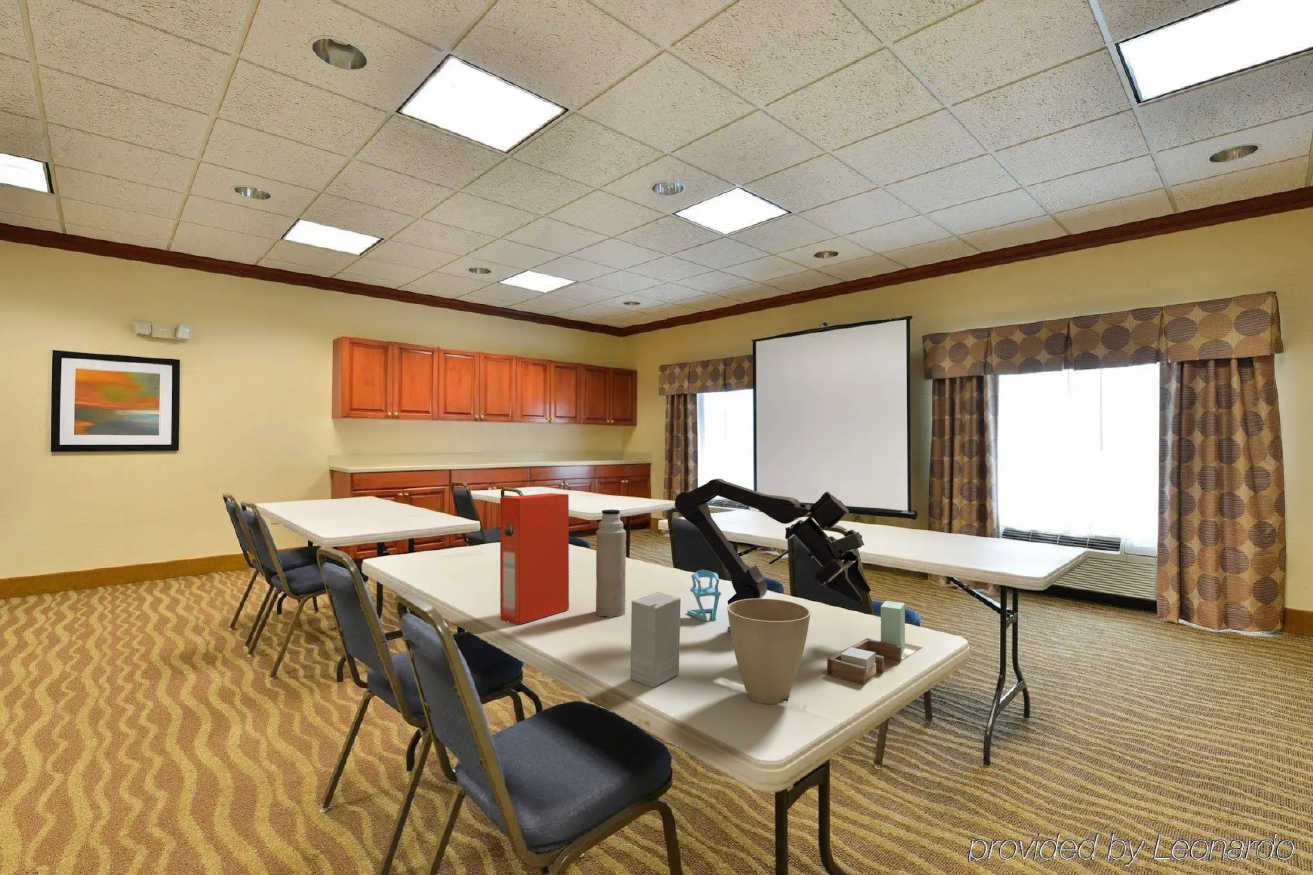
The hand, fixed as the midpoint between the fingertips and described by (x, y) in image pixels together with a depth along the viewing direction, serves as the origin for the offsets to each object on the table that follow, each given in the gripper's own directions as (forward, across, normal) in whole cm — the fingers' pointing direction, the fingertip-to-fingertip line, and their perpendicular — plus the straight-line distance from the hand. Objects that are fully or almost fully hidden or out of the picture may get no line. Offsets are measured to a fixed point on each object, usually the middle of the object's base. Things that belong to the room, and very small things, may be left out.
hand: (865, 596), depth 134 cm
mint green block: (+12, 0, +4) cm, 13 cm away
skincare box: (-13, -37, +32) cm, 51 cm away
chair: (-21, +6, +39) cm, 45 cm away
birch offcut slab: (+10, -17, +6) cm, 20 cm away
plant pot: (+2, -34, +16) cm, 37 cm away
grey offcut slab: (+8, -17, +5) cm, 19 cm away
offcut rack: (+11, -7, +6) cm, 14 cm away
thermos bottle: (-37, -5, +56) cm, 67 cm away
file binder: (-48, -17, +67) cm, 85 cm away
